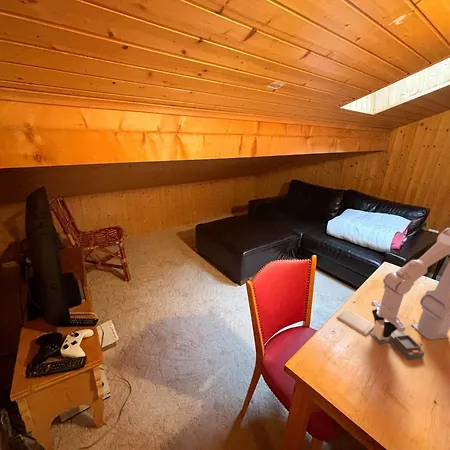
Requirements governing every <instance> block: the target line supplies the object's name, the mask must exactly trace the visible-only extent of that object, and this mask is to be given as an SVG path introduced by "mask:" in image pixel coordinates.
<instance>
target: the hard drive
mask: <svg viewBox="0 0 450 450" xmlns="http://www.w3.org/2000/svg"><path fill="white" fill-rule="evenodd" d="M336 319H338V320H340V321H341V322H343V323H344V324H346V325H348V326H350V327H351V328H352V329H355V330H356V331H357V332H359V333H361V334H363V336H368V335H369V334H370V333H371V332H372V331H373V329H374V325H375V323H373V322H371V321H369V320H368V319H366V318H365V317H362V316H361V315H359V314H357V313H355V312H353V310H352V311H351V309H349V308H346V309H344V310H343V311H342V312H340V313H339V314H337V316H336Z"/></svg>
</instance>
